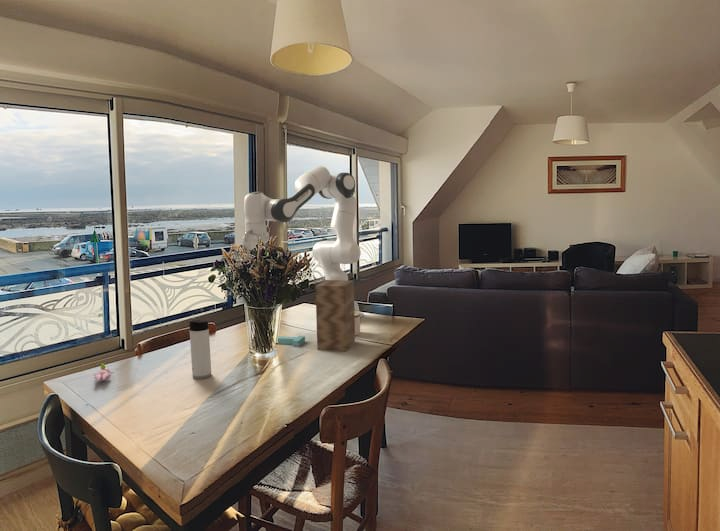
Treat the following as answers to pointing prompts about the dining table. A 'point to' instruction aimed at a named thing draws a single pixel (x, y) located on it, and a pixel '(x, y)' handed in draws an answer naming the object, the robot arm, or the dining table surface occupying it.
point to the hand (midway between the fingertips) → (256, 261)
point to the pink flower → (103, 374)
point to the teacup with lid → (357, 322)
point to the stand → (335, 315)
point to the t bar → (291, 340)
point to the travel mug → (200, 349)
